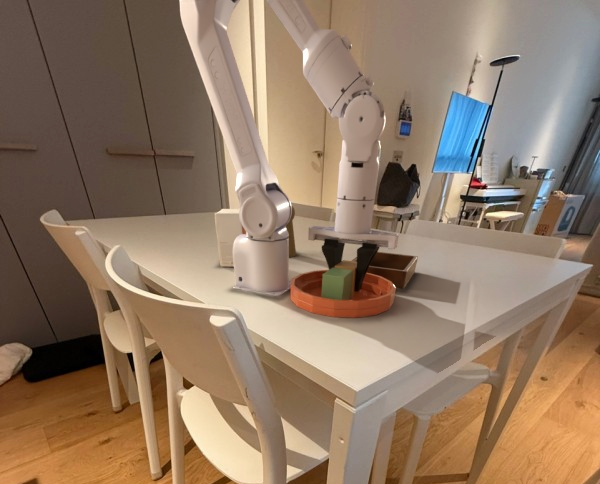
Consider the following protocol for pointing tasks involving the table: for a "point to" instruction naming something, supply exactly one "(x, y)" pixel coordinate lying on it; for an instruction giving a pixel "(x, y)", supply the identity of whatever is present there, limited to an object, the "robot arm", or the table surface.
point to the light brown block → (350, 266)
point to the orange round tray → (366, 302)
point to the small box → (227, 234)
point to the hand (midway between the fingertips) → (346, 288)
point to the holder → (393, 267)
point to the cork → (291, 235)
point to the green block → (337, 284)
